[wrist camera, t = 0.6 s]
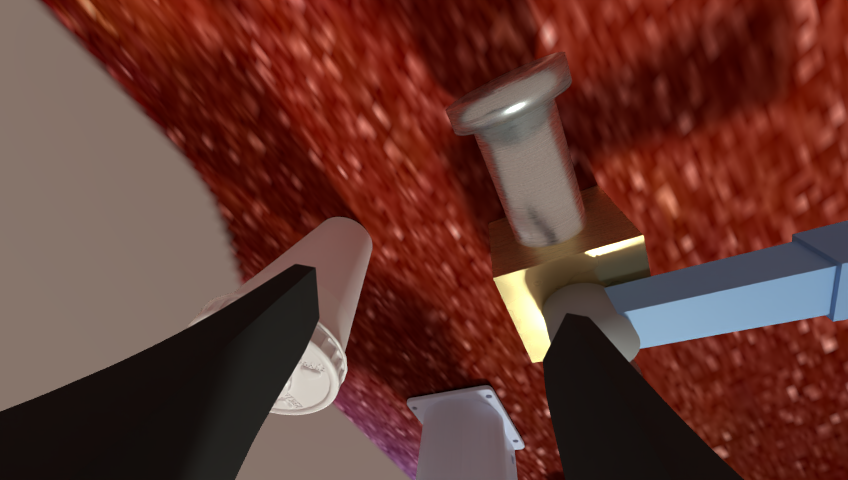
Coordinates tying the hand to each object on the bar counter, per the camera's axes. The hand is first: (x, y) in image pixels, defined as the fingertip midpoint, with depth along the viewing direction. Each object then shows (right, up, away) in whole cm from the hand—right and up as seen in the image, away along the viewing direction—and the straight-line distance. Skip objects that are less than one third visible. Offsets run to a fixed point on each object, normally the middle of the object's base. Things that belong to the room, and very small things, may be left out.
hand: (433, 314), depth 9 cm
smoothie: (-5, +2, +12) cm, 13 cm away
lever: (+11, +1, +3) cm, 12 cm away
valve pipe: (+7, +2, +10) cm, 12 cm away
